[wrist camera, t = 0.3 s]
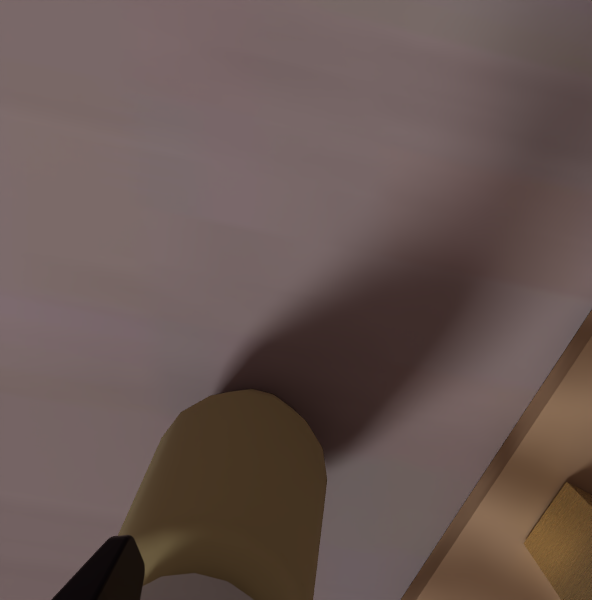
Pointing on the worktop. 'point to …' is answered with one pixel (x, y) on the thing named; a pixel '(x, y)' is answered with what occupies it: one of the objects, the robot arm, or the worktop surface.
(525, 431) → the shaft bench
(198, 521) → the squeeze bottle
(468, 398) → the worktop surface
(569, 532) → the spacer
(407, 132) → the worktop surface
